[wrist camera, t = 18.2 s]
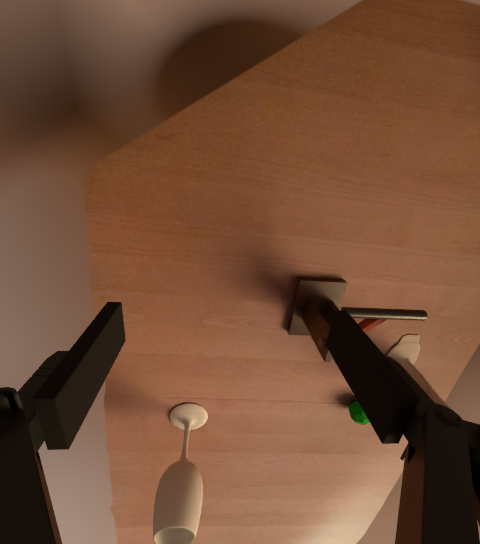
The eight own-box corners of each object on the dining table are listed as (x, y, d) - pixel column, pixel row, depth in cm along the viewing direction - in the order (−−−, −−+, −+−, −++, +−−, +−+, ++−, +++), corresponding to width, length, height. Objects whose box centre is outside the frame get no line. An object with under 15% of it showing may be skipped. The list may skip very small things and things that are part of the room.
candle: (427, 335, 55) (530, 422, 37) (402, 383, 60) (481, 479, 42) (397, 332, 54) (487, 420, 36) (374, 381, 60) (442, 479, 41)
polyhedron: (359, 411, 63) (369, 430, 59) (342, 408, 62) (351, 427, 58) (369, 397, 62) (380, 415, 57) (351, 394, 61) (362, 412, 56)
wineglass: (212, 423, 61) (209, 544, 42) (177, 432, 61) (158, 555, 42) (200, 399, 58) (191, 518, 38) (164, 408, 58) (136, 531, 39)
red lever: (343, 300, 29) (347, 320, 28) (423, 303, 30) (431, 323, 29) (303, 337, 41) (305, 352, 40) (362, 338, 42) (366, 353, 41)
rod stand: (297, 277, 47) (323, 315, 36) (344, 279, 48) (384, 317, 36) (287, 330, 52) (306, 380, 40) (329, 332, 53) (361, 381, 41)
